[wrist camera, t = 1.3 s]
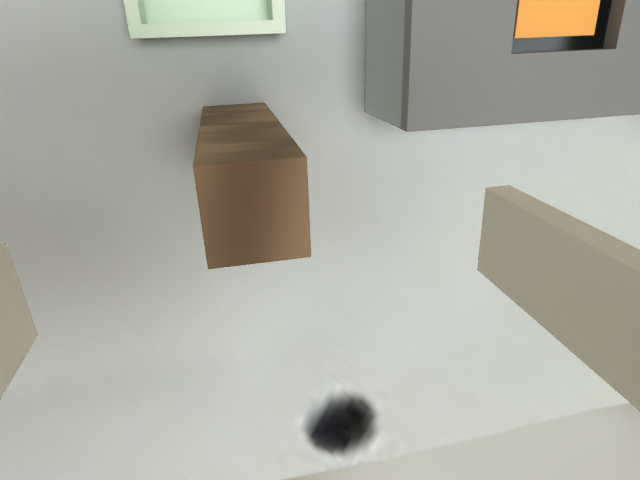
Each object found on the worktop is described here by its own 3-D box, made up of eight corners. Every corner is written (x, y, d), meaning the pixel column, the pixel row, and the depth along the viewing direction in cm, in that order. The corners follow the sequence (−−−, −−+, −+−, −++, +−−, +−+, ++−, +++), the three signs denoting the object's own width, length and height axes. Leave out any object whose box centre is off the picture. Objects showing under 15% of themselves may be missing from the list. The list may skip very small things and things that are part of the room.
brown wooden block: (211, 166, 32) (208, 269, 18) (203, 106, 31) (193, 166, 16) (269, 161, 33) (311, 256, 18) (264, 102, 31) (306, 156, 17)
